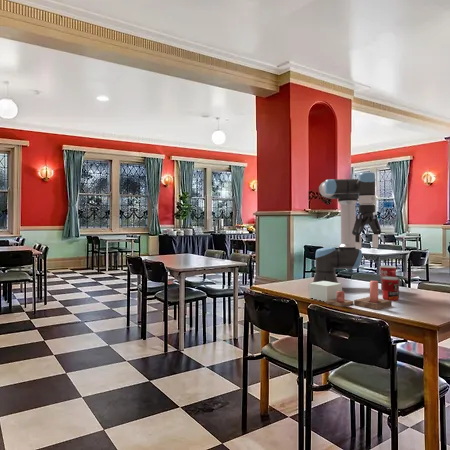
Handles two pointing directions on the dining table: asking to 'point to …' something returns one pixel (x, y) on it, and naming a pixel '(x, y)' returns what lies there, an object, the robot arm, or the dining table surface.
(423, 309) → the dining table surface
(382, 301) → the wooden square frame
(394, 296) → the canned food
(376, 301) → the peg
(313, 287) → the block
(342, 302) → the board
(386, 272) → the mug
